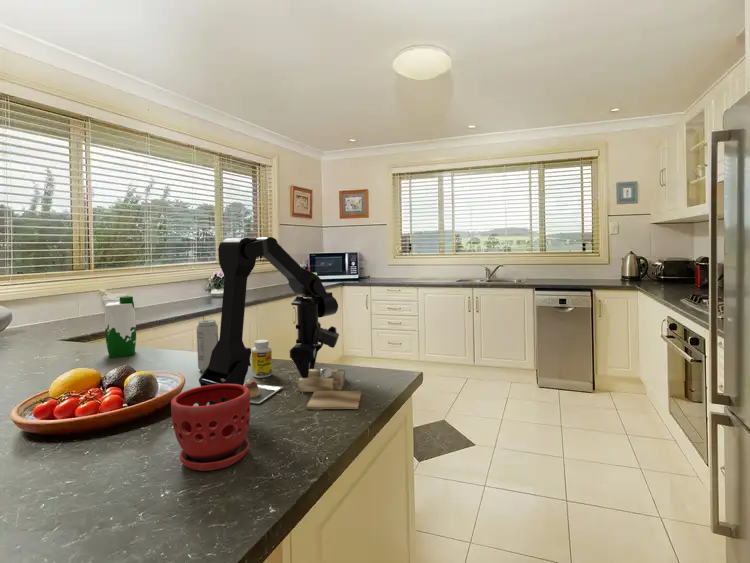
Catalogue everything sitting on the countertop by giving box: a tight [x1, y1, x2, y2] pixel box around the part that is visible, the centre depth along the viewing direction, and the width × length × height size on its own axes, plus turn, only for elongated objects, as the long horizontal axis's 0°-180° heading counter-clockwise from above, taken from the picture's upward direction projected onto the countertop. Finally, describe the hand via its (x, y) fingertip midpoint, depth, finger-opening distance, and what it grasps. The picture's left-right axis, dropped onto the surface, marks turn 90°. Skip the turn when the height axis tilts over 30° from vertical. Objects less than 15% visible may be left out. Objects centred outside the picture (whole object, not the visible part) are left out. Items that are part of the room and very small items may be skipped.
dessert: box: [243, 377, 284, 405], centre depth 109 cm, size 12×12×5 cm
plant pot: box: [170, 384, 251, 471], centre depth 77 cm, size 13×13×12 cm
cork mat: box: [305, 390, 362, 410], centre depth 105 cm, size 11×12×1 cm
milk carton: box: [104, 295, 137, 359], centre depth 149 cm, size 9×9×20 cm
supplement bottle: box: [251, 339, 273, 379], centre depth 125 cm, size 6×6×10 cm
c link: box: [297, 368, 346, 393], centre depth 116 cm, size 11×10×3 cm
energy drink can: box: [196, 319, 219, 373], centre depth 130 cm, size 6×6×15 cm
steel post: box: [319, 366, 332, 378], centre depth 116 cm, size 3×3×4 cm
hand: (308, 375), depth 120 cm, fingers open, 9 cm apart
